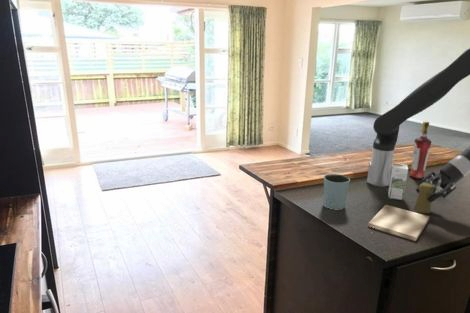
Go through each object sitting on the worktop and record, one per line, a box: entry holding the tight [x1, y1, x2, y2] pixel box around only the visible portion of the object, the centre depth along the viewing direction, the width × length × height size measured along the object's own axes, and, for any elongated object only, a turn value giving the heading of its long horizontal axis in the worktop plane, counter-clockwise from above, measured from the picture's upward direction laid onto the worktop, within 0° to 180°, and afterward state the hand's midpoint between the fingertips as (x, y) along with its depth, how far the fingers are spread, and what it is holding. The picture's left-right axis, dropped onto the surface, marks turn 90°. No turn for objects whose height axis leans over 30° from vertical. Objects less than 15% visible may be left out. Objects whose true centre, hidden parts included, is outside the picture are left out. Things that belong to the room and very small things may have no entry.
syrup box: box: [387, 163, 409, 201], centre depth 155 cm, size 6×6×14 cm
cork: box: [413, 182, 435, 214], centre depth 144 cm, size 6×6×11 cm
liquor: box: [409, 121, 432, 180], centre depth 177 cm, size 7×7×28 cm
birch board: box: [367, 204, 430, 242], centre depth 134 cm, size 16×20×2 cm
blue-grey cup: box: [322, 173, 351, 210], centre depth 146 cm, size 10×10×12 cm
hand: (422, 196), depth 143 cm, fingers open, 8 cm apart
